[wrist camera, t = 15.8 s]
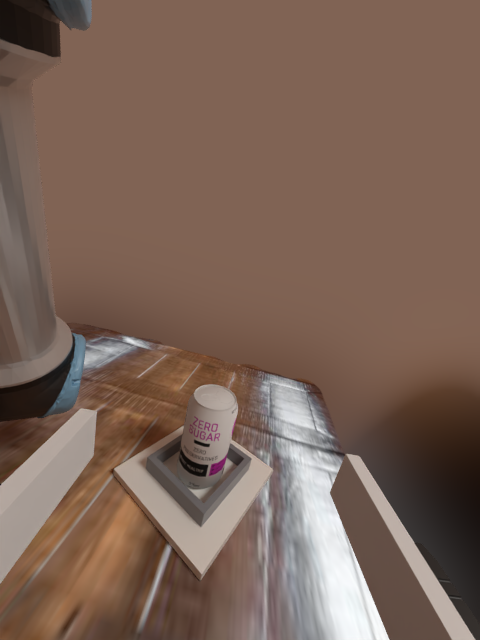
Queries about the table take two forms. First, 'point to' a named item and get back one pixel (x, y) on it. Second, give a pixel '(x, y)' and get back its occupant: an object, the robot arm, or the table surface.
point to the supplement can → (206, 435)
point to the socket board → (192, 498)
